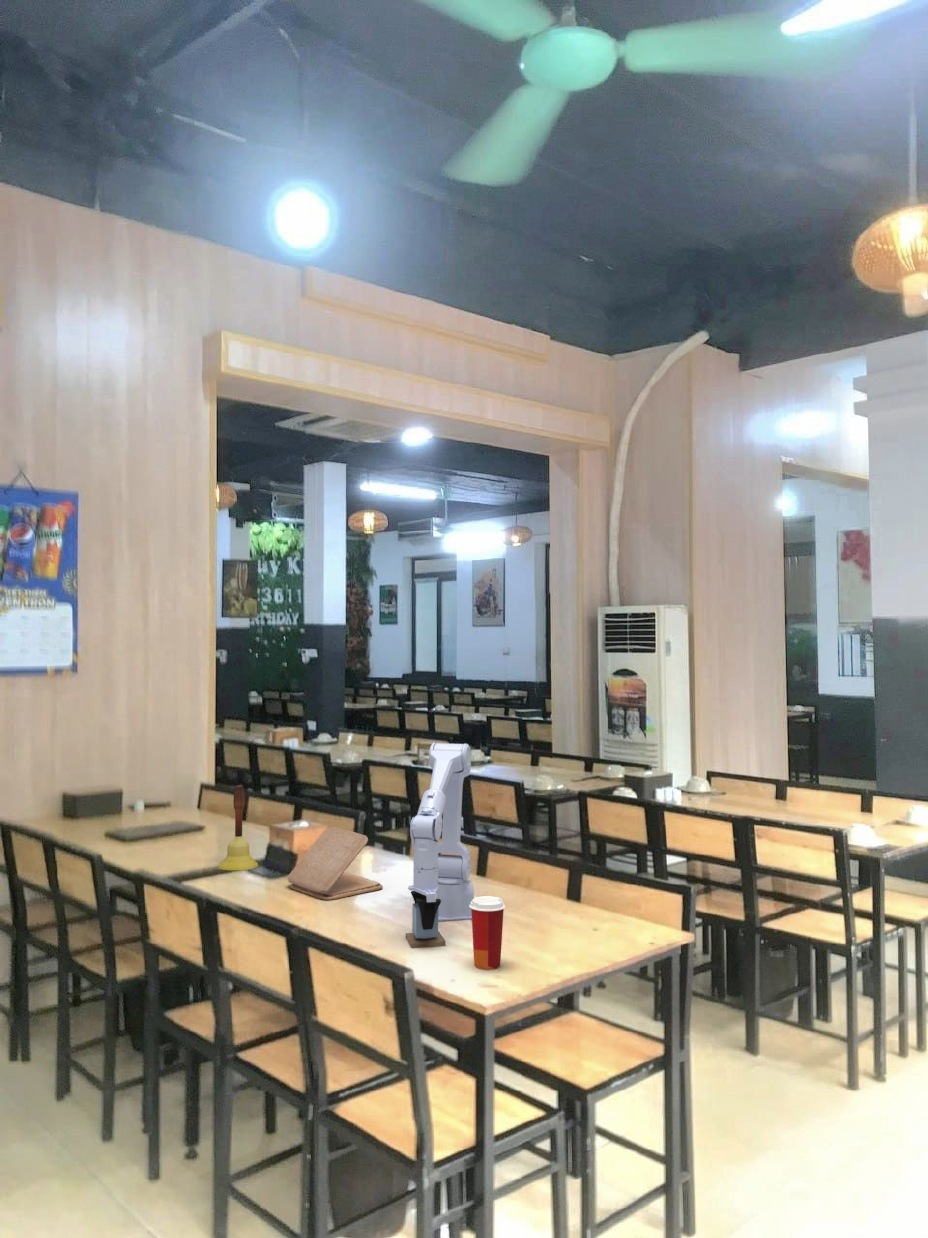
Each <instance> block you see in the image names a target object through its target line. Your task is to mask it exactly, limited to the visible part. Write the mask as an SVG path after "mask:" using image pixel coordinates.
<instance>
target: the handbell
mask: <svg viewBox="0 0 928 1238" xmlns="http://www.w3.org/2000/svg"><path fill="white" fill-rule="evenodd" d="M245 799H246V798H245V791H244V786H243V785H242V784H237V785H235V787H234V793H233V809H234V813H235V815H234V816H235V818H234V819H235V820H234V821H235V822H234V828H235V829H234V839H233V840H231V841H230V842H229V843H227V855H226V856H225V858H224V859H223V860H222V861H221V862H220V863H219V864H218V866H217V868H218V869H220V870H224V871H245V870H251V869H255V868H257V867H259V863H258V862H257V861H256V860H255V859H253V857H252V856H251V854H250V844H249V842H248V841H247V840H245V839H244V838H243V811H244V808H245V802H246V801H245Z"/></svg>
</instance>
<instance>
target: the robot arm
mask: <svg viewBox="0 0 928 1238" xmlns="http://www.w3.org/2000/svg"><path fill="white" fill-rule="evenodd" d="M428 762H429V764H430V768H431V770H432V774H431V779H430V784H429V789H427V790H425V791H424V792H423V794H422V798H421V801H420V804H419V807H418V811H417V814H416V815H415V816H413V817H411V818H412V819H411V821H410V824H409V825H410V826H409V827H410V828H409V834H410V839H411V847H412V848H413V875H412V877H413V880H412V881H413V883H412V884H413V885H408V886H407V888H408V890H409V891H410V894H411V896H412V898H413V903H417V904H418V906H419V909H420V914H421V921H422V927H423V929H424V930H429V929H432V928H433V925H434V920H435V915H436V912H437V909H438V922H441V921H443V922H444V921H459V920H460V921H461V920H472V913H471V908H470V907H469V905H470V904H471V901H472V900H473V899H474V898H475V892H474V891H475V890H474V884H473V882H472V880H469V879H470V877H471V873H472V859H471V851H470V849H469V848H468V847H467V846H466V845H465V844H463V843H462V841H461V829H462V828H461V827H462V808H463V807H462V806H463V788H464V787H463V785H464V779H465V778H466V777H468V776H470V775H471V769H472V768H471V767H472V750H471V747H470V745H469V744H468V743H443V742H442V743H438V742H432V744H431V745H430V747H429V750H428ZM440 838H441V842H439V841H440Z"/></svg>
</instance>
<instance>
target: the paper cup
mask: <svg viewBox="0 0 928 1238" xmlns="http://www.w3.org/2000/svg"><path fill="white" fill-rule="evenodd" d="M469 907H470V908H471V913H472V919H471V928H472V931H471V932H472V945H473V946H472V947H473V949H472V951H473V962H474V963H473V964H474V967H475V968H477V969H479V970H489V971H490V970H495V969H498V968H499V967H500V965H501V959H502V946H503V945H502V942H503V929H504V910H505V908H506V905H505V904H504V900H503V899H502V898H501V897H497V896H490V895H488V896H487V895H486V896H485V895H483V896H476V897H474V899H473V900H472V901H471V904H470V905H469Z"/></svg>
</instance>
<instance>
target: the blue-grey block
mask: <svg viewBox="0 0 928 1238" xmlns="http://www.w3.org/2000/svg"><path fill="white" fill-rule="evenodd" d="M411 907H412V908H411V909H412V912H411V914H412V916H411V919H412V920H411V921H412V923H411V925H412V926H411V927H412V928H411V930H412V931H411V933H413V934H414V936H415V937H416V938H429V937H438V931H439V921H438V909H437V912H436V915H435V920H434V925H433V928H432V929H429V930H424V929H423V927H422V921H421V914H420V909H419V906H418V904H417V903H415V902H413V903H412V906H411Z"/></svg>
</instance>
